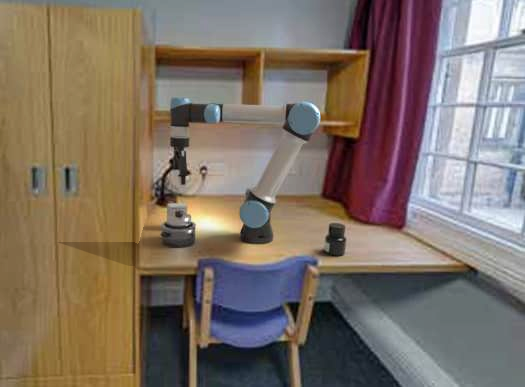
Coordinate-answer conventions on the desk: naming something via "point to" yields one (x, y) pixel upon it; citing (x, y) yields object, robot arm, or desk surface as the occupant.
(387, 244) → the desk surface
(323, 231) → the desk surface
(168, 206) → the ink box
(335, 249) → the ink bottle
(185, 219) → the lid
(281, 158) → the robot arm
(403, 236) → the desk surface
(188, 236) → the pot
